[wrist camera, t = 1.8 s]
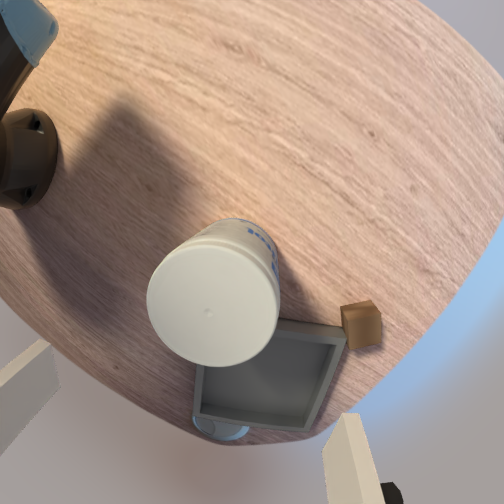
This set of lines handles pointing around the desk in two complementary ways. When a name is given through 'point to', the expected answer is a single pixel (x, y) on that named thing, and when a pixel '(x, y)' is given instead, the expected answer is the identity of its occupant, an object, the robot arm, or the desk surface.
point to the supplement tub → (217, 294)
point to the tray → (274, 380)
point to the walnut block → (361, 324)
